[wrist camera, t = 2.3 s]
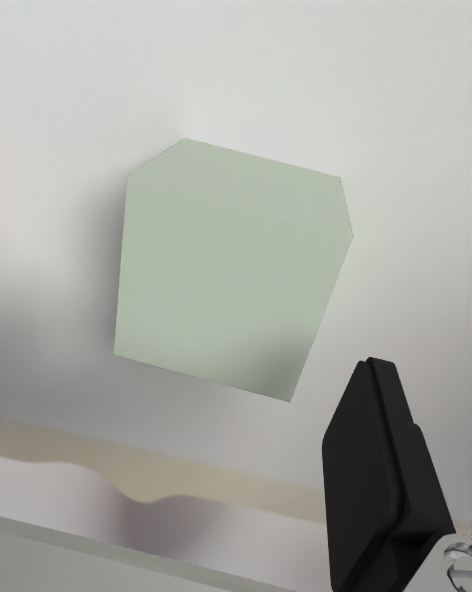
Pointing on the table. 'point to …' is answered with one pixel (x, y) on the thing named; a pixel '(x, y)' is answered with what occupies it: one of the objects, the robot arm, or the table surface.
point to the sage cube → (228, 265)
